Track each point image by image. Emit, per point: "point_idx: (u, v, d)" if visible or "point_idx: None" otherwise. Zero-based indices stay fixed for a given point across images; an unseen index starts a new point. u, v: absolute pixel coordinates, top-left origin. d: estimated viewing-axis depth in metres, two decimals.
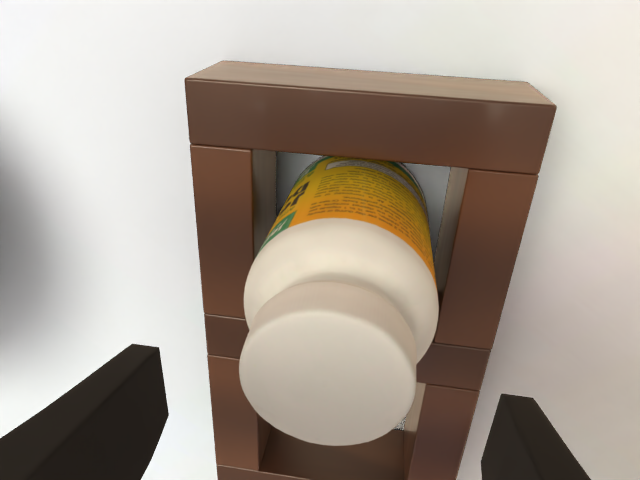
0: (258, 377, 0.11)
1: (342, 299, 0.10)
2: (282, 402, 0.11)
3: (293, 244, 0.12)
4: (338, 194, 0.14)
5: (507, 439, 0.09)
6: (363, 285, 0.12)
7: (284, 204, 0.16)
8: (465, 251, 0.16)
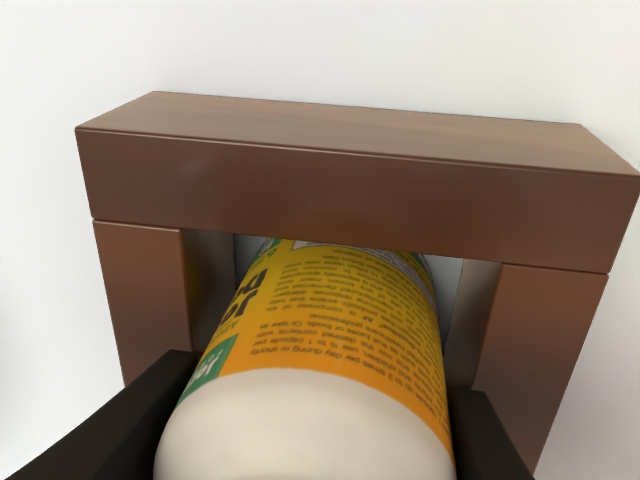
0: None
1: None
2: None
3: (219, 418, 0.07)
4: (303, 308, 0.09)
5: (455, 432, 0.09)
6: None
7: (234, 297, 0.12)
8: (494, 372, 0.11)
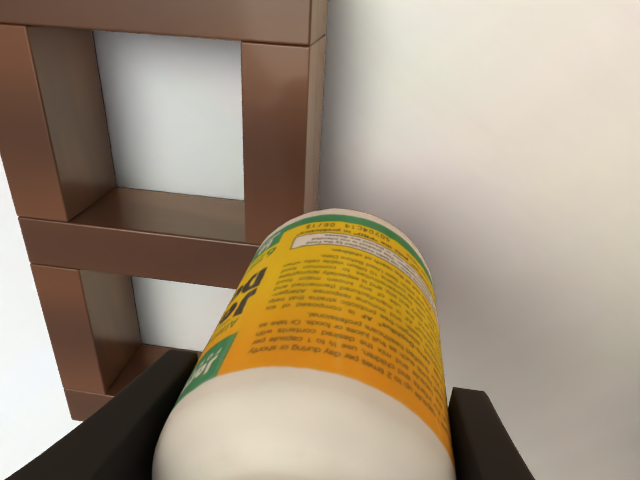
0: None
1: None
2: None
3: (218, 416, 0.07)
4: (301, 307, 0.09)
5: (455, 432, 0.09)
6: None
7: (233, 296, 0.12)
8: (255, 137, 0.15)
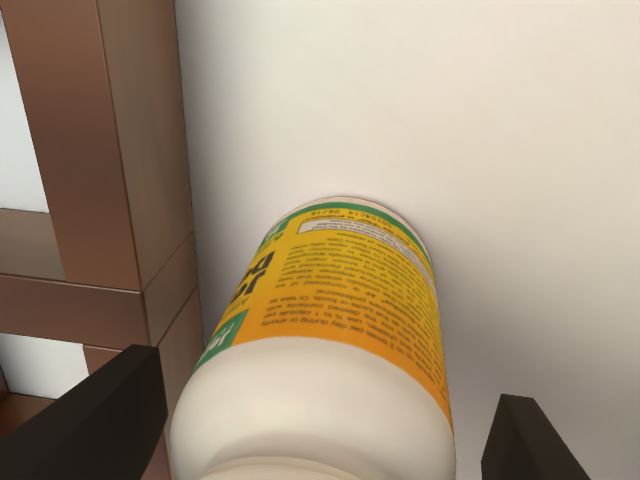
0: None
1: None
2: None
3: (233, 382, 0.08)
4: (309, 285, 0.10)
5: (507, 439, 0.09)
6: (340, 456, 0.07)
7: (242, 279, 0.12)
8: (47, 134, 0.10)
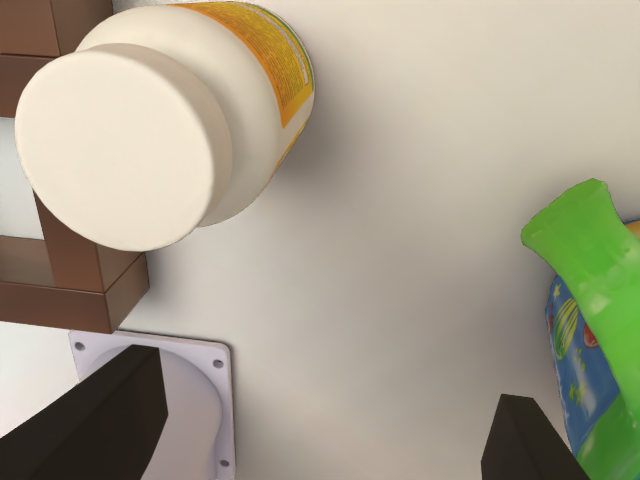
0: (38, 157, 0.10)
1: (121, 49, 0.09)
2: (72, 192, 0.10)
3: (100, 28, 0.11)
4: None
5: (507, 439, 0.09)
6: None
7: None
8: None
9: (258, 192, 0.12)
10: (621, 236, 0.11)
